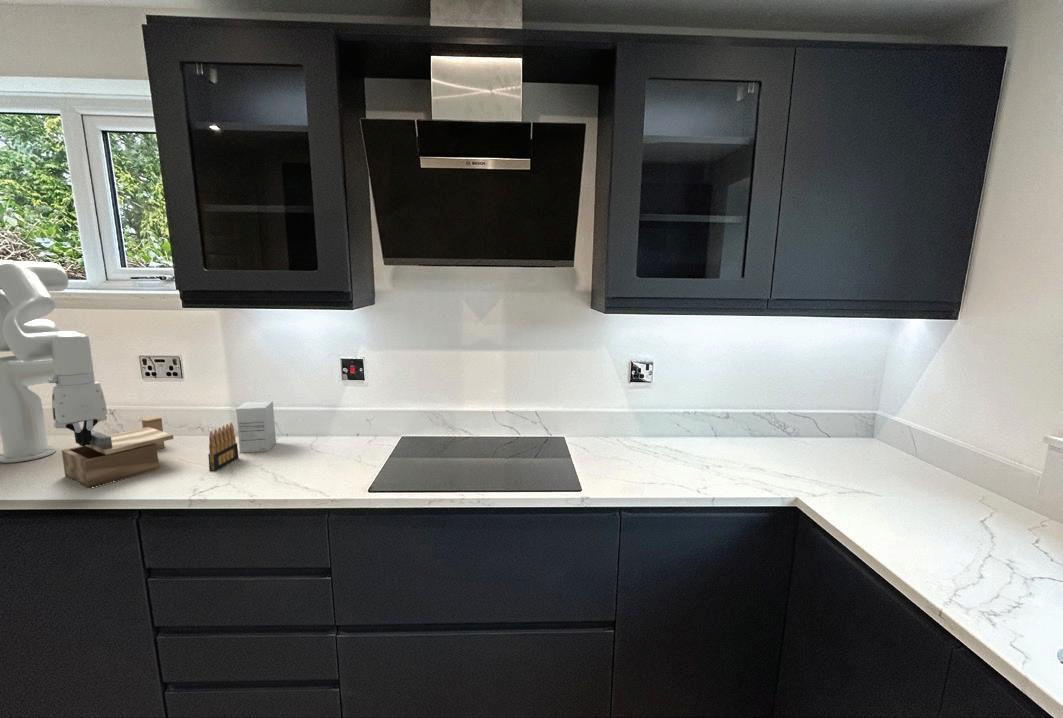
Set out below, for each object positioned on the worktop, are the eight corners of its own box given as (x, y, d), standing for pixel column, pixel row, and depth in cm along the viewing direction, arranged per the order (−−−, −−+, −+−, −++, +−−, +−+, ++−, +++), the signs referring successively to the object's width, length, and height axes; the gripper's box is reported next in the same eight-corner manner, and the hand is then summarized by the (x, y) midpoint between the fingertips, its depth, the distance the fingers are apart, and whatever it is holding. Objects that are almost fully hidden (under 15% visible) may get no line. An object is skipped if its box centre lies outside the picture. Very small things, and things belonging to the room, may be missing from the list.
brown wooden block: (144, 448, 156) (141, 419, 155) (159, 445, 160) (156, 416, 158) (150, 450, 154) (147, 421, 153) (164, 447, 158) (161, 418, 156)
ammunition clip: (233, 458, 149) (230, 421, 147) (238, 458, 149) (235, 421, 147) (209, 471, 139) (205, 432, 137) (215, 471, 139) (211, 432, 137)
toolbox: (65, 476, 133) (61, 450, 132) (134, 458, 147) (131, 435, 146) (89, 489, 126) (85, 461, 124) (159, 469, 139) (156, 444, 138)
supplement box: (247, 444, 162) (244, 401, 160) (276, 442, 164) (273, 400, 162) (238, 453, 153) (235, 408, 151) (269, 451, 156) (266, 407, 153)
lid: (83, 444, 136) (81, 430, 135) (149, 430, 150) (147, 417, 149) (106, 454, 128) (104, 440, 128) (173, 438, 142) (172, 425, 142)
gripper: (42, 386, 119) (52, 455, 122) (116, 376, 132) (124, 439, 135) (31, 382, 123) (41, 450, 125) (104, 373, 135) (112, 435, 138)
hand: (84, 444), depth 130 cm, fingers closed
